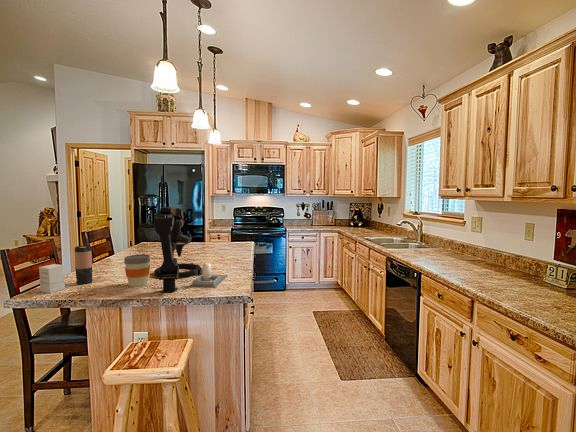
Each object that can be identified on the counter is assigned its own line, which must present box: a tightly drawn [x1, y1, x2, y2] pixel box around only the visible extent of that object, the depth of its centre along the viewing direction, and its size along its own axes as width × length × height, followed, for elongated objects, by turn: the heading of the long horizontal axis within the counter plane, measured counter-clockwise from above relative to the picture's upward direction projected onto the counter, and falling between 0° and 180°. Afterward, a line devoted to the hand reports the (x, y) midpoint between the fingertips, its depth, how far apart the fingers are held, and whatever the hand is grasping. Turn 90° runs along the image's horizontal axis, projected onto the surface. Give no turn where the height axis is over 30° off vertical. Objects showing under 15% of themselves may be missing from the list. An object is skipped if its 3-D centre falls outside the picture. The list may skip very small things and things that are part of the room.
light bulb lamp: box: [201, 262, 213, 281], centre depth 170 cm, size 6×6×10 cm
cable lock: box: [153, 262, 203, 279], centre depth 192 cm, size 28×4×30 cm
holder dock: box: [189, 274, 228, 288], centre depth 175 cm, size 22×14×3 cm, turn 174°
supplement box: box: [38, 263, 66, 294], centre depth 156 cm, size 7×7×13 cm
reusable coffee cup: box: [123, 254, 151, 288], centre depth 168 cm, size 12×13×15 cm
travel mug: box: [74, 244, 93, 286], centre depth 169 cm, size 8×8×20 cm
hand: (175, 258), depth 172 cm, fingers open, 9 cm apart
